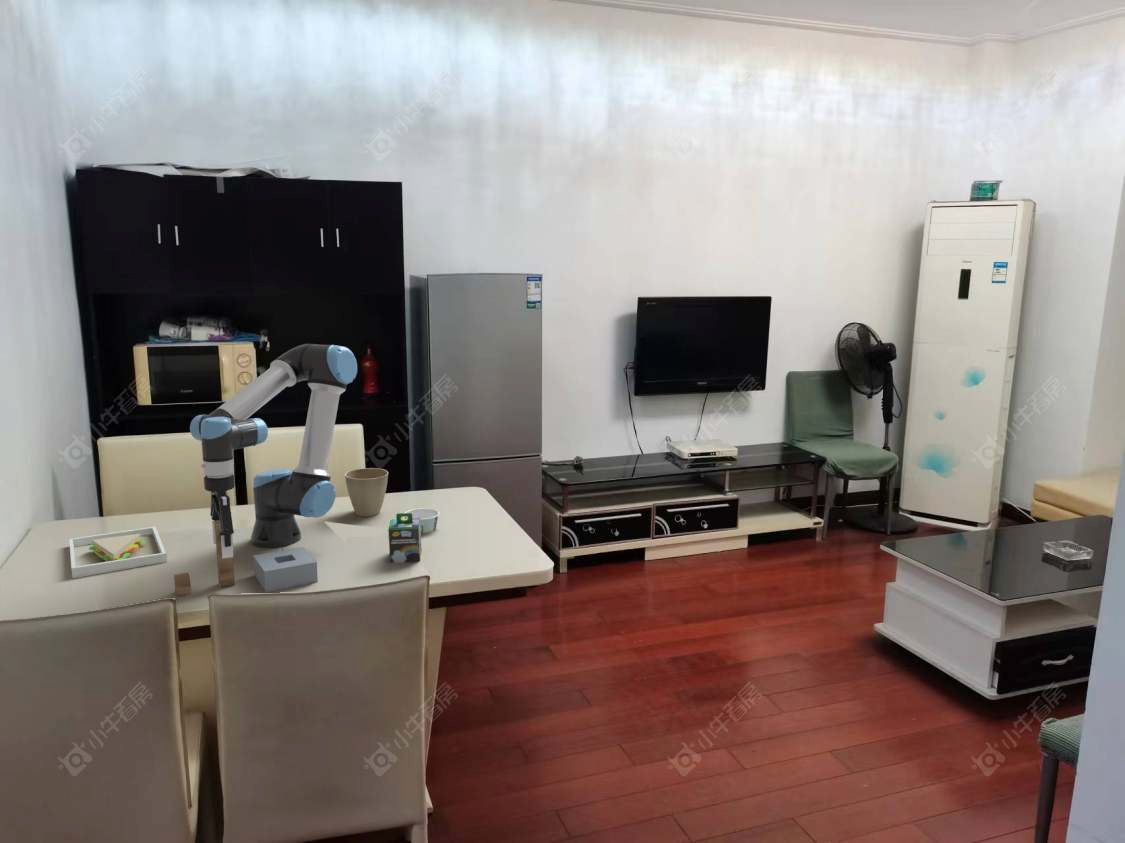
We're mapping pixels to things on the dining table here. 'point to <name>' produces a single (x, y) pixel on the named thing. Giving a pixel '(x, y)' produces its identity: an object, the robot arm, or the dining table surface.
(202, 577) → the dining table surface
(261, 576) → the hole block
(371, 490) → the plant pot
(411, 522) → the chalk box
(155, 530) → the sandwich plate rim
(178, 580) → the short pin
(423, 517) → the food container
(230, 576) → the long wooden block
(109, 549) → the sandwich
